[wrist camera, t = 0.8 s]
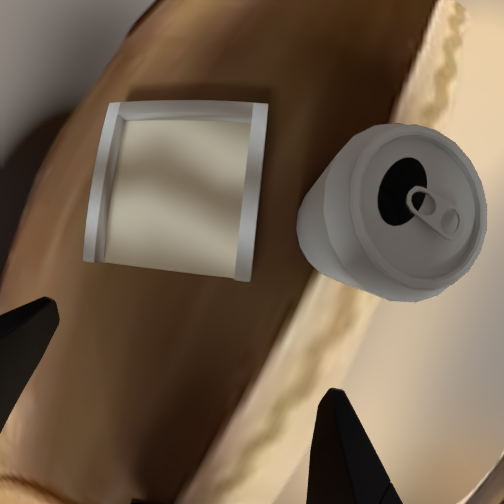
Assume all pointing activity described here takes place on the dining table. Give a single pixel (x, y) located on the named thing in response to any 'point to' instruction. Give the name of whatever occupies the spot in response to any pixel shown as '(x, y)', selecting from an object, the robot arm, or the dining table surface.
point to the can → (395, 214)
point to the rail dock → (178, 186)
